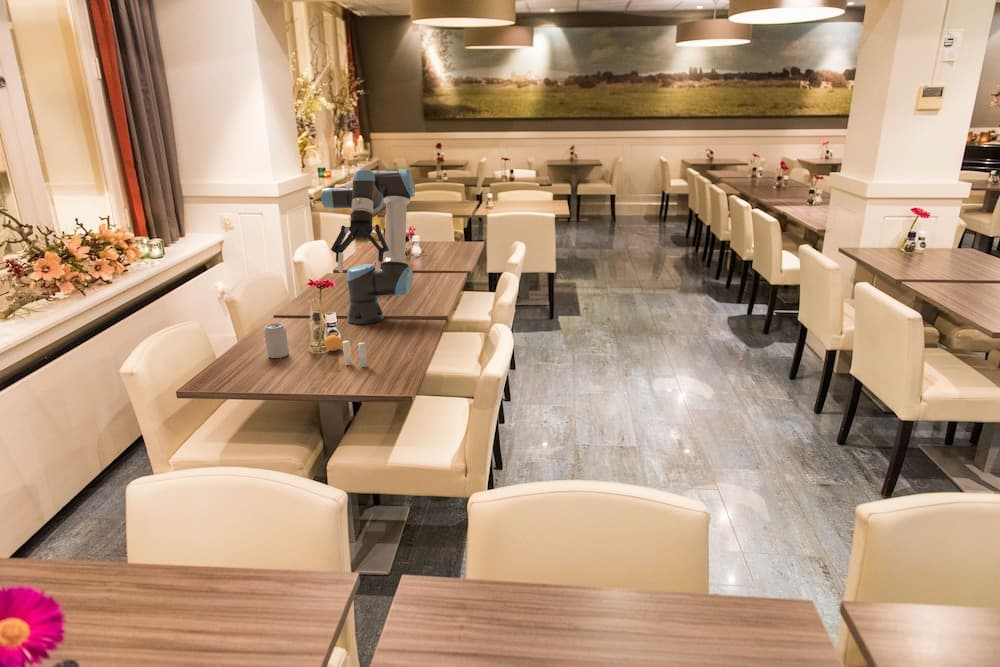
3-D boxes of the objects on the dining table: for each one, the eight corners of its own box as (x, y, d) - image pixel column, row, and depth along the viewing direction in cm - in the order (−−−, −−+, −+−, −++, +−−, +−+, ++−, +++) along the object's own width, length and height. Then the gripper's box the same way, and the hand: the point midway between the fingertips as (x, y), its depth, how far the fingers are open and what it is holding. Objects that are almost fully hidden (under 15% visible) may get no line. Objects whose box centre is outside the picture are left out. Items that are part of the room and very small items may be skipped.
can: (292, 352, 251) (288, 322, 247) (284, 359, 244) (279, 328, 240) (273, 352, 251) (268, 322, 248) (264, 359, 244) (259, 328, 241)
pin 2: (359, 365, 236) (357, 343, 233) (366, 364, 237) (363, 341, 234) (361, 368, 234) (359, 345, 231) (368, 366, 235) (366, 343, 232)
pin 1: (344, 364, 238) (341, 341, 235) (350, 362, 239) (348, 340, 236) (346, 366, 236) (343, 343, 233) (352, 364, 237) (350, 342, 234)
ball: (323, 349, 253) (322, 334, 251) (339, 346, 255) (337, 331, 253) (328, 354, 248) (326, 339, 246) (344, 351, 250) (342, 335, 248)
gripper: (324, 210, 235) (320, 269, 231) (392, 207, 231) (390, 267, 227) (332, 217, 242) (328, 274, 238) (399, 215, 239) (396, 273, 235)
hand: (358, 271), depth 233 cm, fingers open, 13 cm apart
